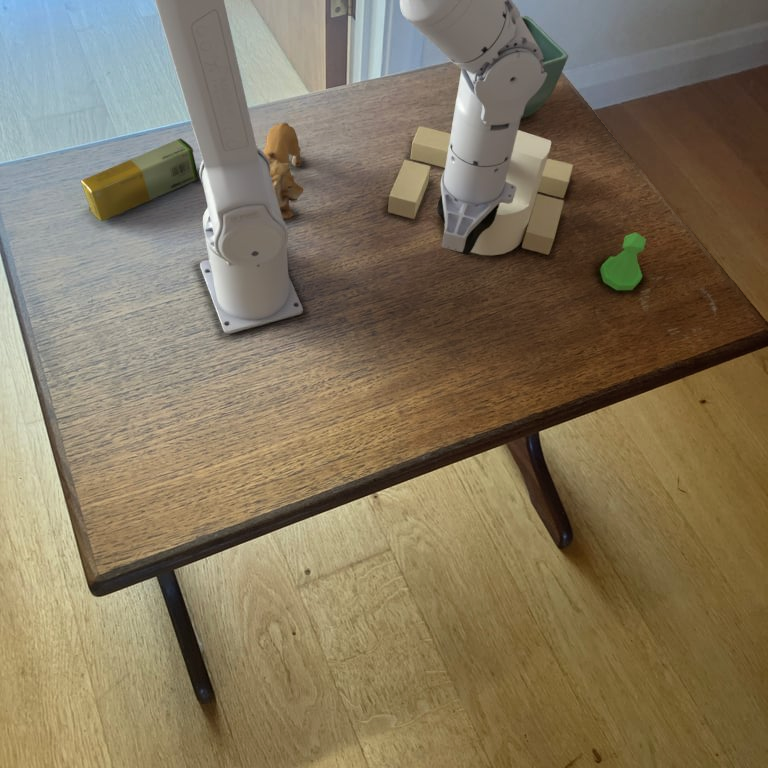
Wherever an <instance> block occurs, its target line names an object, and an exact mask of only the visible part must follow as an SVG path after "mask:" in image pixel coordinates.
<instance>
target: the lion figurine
mask: <svg viewBox="0 0 768 768" xmlns="http://www.w3.org/2000/svg"><path fill="white" fill-rule="evenodd" d="M301 150H302V149H301V148H300V144H299V139H298V136H297V132H296V129H295V128H294V127H292V126H290V125H289V123H288V122H282V123H278V124H275V125H273V126H272V127H271V128H270V129H269V131H268V134H267V135H266V142H265V146H264V149H263V151H262V152H263V153H264V154H265V156H266V157H267V159H268V161H269V166H270V175H271V179H272V182H273V186H274V190H275V193H276V197H277V201H278V204H279V208H280V211H281V215H282V218H283V219H286V220H287V219H290V218H291V217H292V216H294V211H292V210H291V208H290V202H292V203H296V202H297V201H298V199H299V197H300V196H301V194H303V192H304V187H303V186H301V185H300V184H298V183H297V182H295V179H294V178H295V177H294V176H293V174H292V172H291V168H290V155H291V156H292V160H291V165H292V166H294V167H300V166H301V165H302V164H303V161H302V157H301Z"/></svg>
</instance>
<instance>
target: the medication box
mask: <svg viewBox="0 0 768 768" xmlns="http://www.w3.org/2000/svg"><path fill="white" fill-rule="evenodd" d="M195 159H196V158H195V155H194V148H193V147H192V146H191V145H190V144H189V143H188V142H187V141H186V140H184V139H183V138H178V139H175V140H173V141H170V142H169V143H165V144H163V145H161V146H159V147H157V148H154V149H151V150H150V151H147V152H145V153H143V154H142V153H141V154H140V155H137V156H136V157H133V158H130V159H129V160H126V161H123V162H121V163H119V164H117V165H114V166H112V167H109V168H107V169H105V170H102V171H100V172H98V173H96V174H93V175H91V176H88V177H86V178H83V179H82V180H81V181H80V183H81V187H82V189H83V193H84V195H85V198H86V200H87V203H88V206H89V207H88V210H89V212H91V213H92V214H93V216H94V217H95V218H96V219H98V221H100V222H104V221H106V220H109V219H111V218H113V217H115V216H118V215H121V214H122V213H125V212H127V211H129V210H131V209H134V208H136V207H138V206H140V205H143V204H144V203H147V202H150V201H152V200H154V199H156V198H158V197H160V196H162V195H165V194H168V193H169V192H172V191H174V190H177V189H178V188H181V187H183V186H185V185H188V184H190V183H192V182H194V181H196V180H197V181H198V180H200V179H199V178H200V174H199V173H198V172H199V171H198V169H197V164H196V160H195Z"/></svg>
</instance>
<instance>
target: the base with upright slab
mask: <svg viewBox="0 0 768 768" xmlns="http://www.w3.org/2000/svg"><path fill="white" fill-rule="evenodd" d="M551 145H552V141H551V140H550V139H546V138H544V137H542V136H538V135H535V134H532V133H528V132H525V131H522V130H520V129H518V132H517V136H516V140H515V144H514V148H513V152H512V156H511V160H510V164H509V168H508V172H507V176H506V180H505V181H506V182H507V183H509V184H513V185H515V186H516V192H515V196H514V199H513V202H512V203H510V204H506V203H500V204H499V207H498V209H497V213H496V216H495V219H494V222H493V223H492V225H491V226H490V227H489V228H487V229H486V230H484V231H483V232H482V233H481V234H480V236H479V237H478V239H477V241H476V243H475V245H474V247H473V249H472V250H471V252H470V253H473V254H477V255H480V256H497V255H504V254H506V253H509V252H511V251H513V250H514V249H516V248H517V247H518V246H520V245H521V243H523V241H524V237H525V234H526V230H527V227H528V223H529V220H530V216H531V213H532V209H533V206H534V203H535V199H536V196H537V194H538V193H539V192H538V188H539V185H540V181H541V178H542V174H543V171H544V168H545V164H546V161H547V158H549V155H550V150H551ZM443 227H444V228H445V224H444V223H443Z"/></svg>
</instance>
